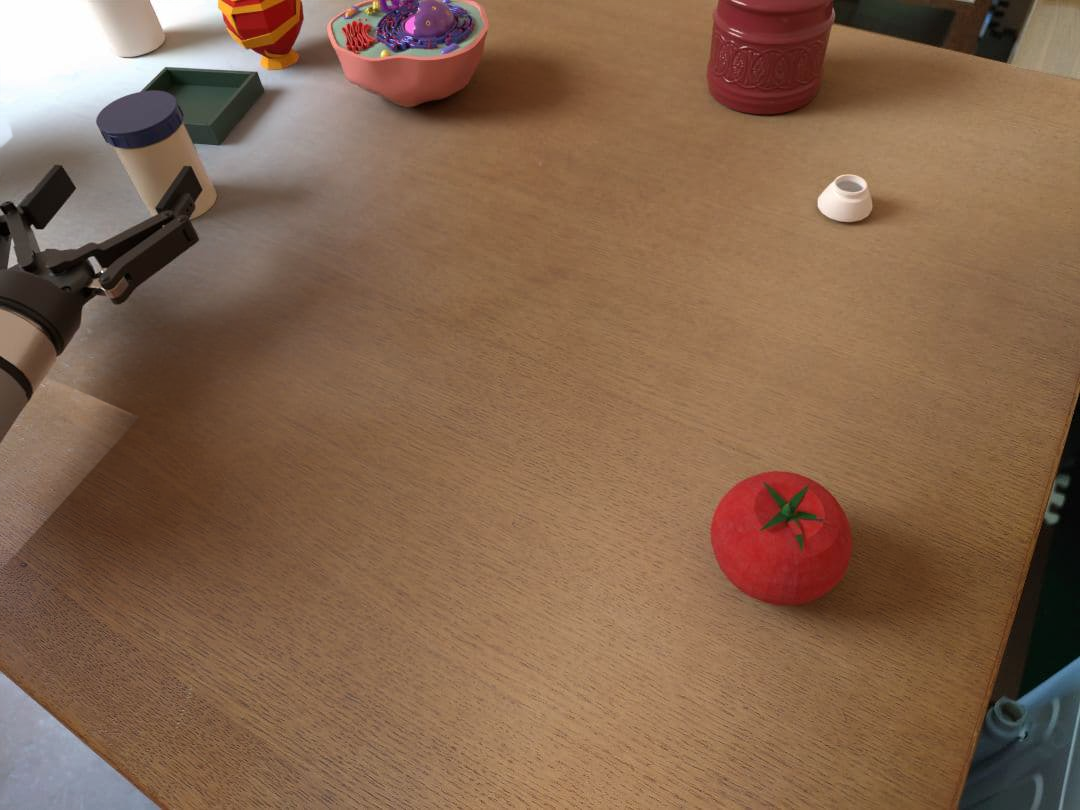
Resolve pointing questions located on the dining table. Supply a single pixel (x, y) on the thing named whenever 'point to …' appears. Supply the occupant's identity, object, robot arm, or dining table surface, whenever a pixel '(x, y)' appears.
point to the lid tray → (209, 98)
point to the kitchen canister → (768, 53)
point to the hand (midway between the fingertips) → (129, 177)
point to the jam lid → (140, 119)
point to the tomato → (781, 538)
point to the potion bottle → (265, 28)
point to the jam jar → (166, 169)
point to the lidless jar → (846, 199)
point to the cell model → (410, 47)
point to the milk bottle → (127, 25)
